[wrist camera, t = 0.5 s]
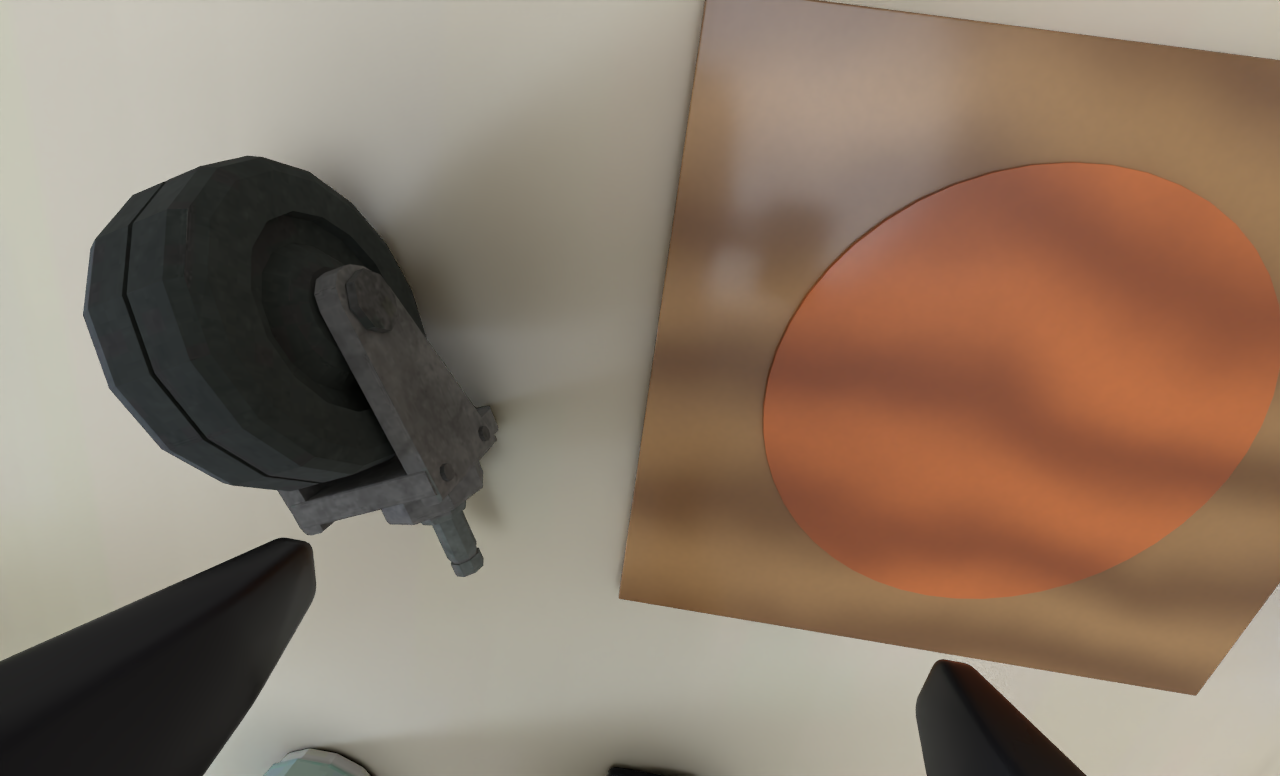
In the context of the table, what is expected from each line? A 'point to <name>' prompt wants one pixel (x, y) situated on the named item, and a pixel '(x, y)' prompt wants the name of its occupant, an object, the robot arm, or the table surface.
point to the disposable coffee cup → (315, 765)
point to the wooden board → (969, 342)
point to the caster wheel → (284, 351)
